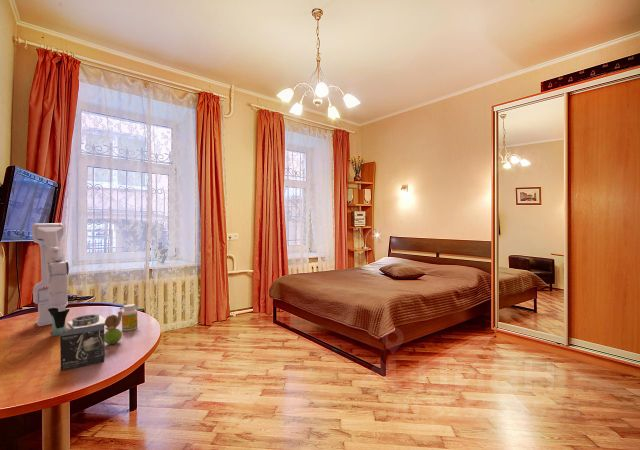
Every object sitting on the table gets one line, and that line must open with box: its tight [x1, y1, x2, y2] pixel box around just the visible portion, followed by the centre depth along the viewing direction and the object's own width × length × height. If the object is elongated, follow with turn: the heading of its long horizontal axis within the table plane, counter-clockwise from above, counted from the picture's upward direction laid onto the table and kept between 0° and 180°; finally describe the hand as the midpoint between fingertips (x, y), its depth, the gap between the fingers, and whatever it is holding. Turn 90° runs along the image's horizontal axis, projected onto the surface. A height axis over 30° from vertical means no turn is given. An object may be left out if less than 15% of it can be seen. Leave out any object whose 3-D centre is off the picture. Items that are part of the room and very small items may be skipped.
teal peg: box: [49, 315, 69, 337], centre depth 122 cm, size 4×5×8 cm
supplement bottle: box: [121, 303, 138, 332], centre depth 126 cm, size 5×5×10 cm
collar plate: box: [67, 313, 107, 329], centre depth 135 cm, size 15×12×3 cm
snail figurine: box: [104, 307, 124, 345], centre depth 111 cm, size 5×6×12 cm
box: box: [59, 324, 106, 372], centre depth 96 cm, size 11×7×10 cm, turn 123°
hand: (58, 326), depth 122 cm, fingers closed on teal peg, 4 cm apart
